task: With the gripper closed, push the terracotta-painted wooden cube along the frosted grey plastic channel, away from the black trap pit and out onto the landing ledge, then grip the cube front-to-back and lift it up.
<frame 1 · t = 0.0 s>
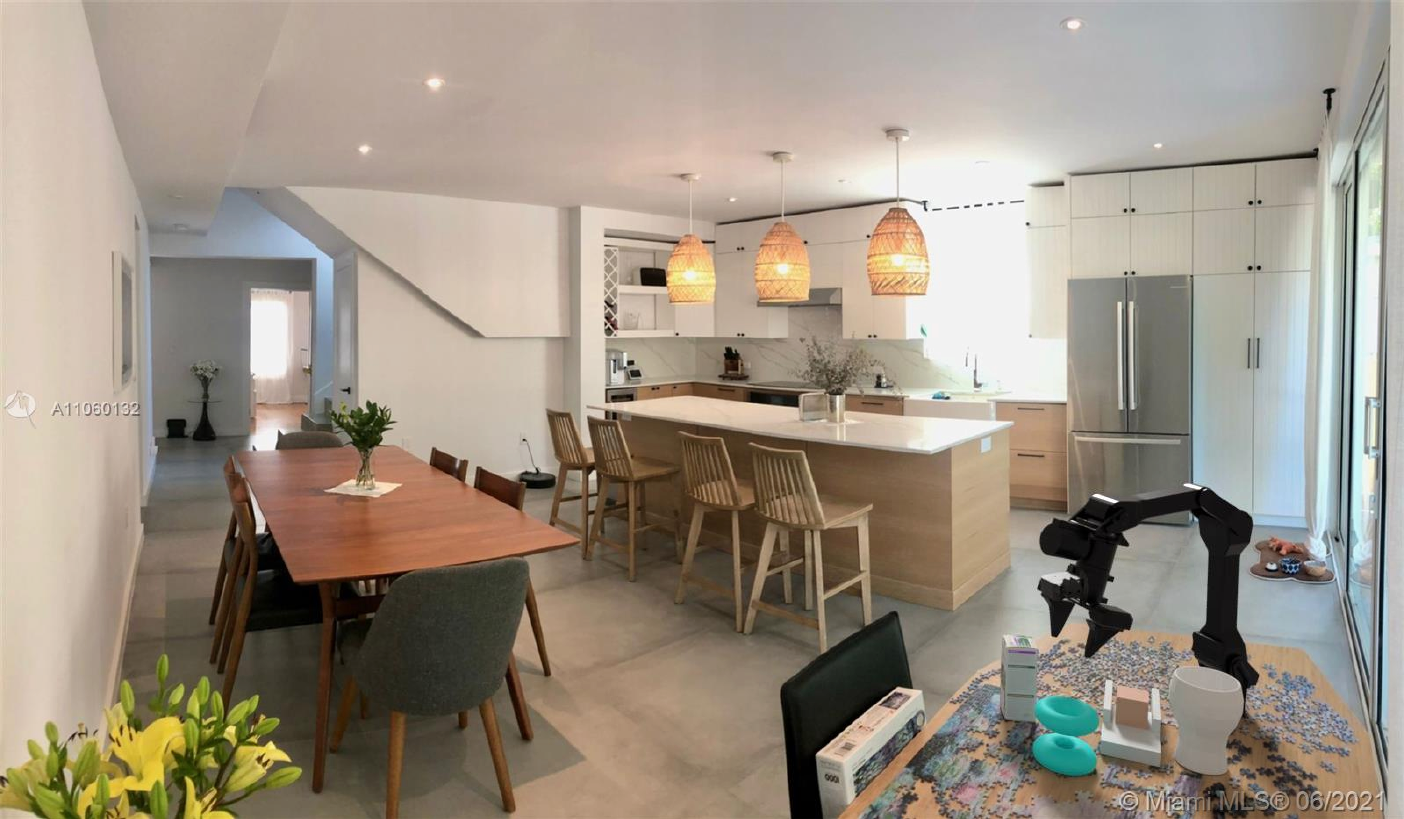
hand: (1070, 647, 147), 15 cm above the table, tool pointing down, fingers open, 9 cm apart
cup: (1200, 763, 137), on the table
terracotta cube: (1130, 720, 147), point 2 cm above the table, touching grey channel
syrup box: (1016, 715, 154), on the table
grey channel: (1130, 731, 147), on the table
donuts: (1063, 763, 138), on the table
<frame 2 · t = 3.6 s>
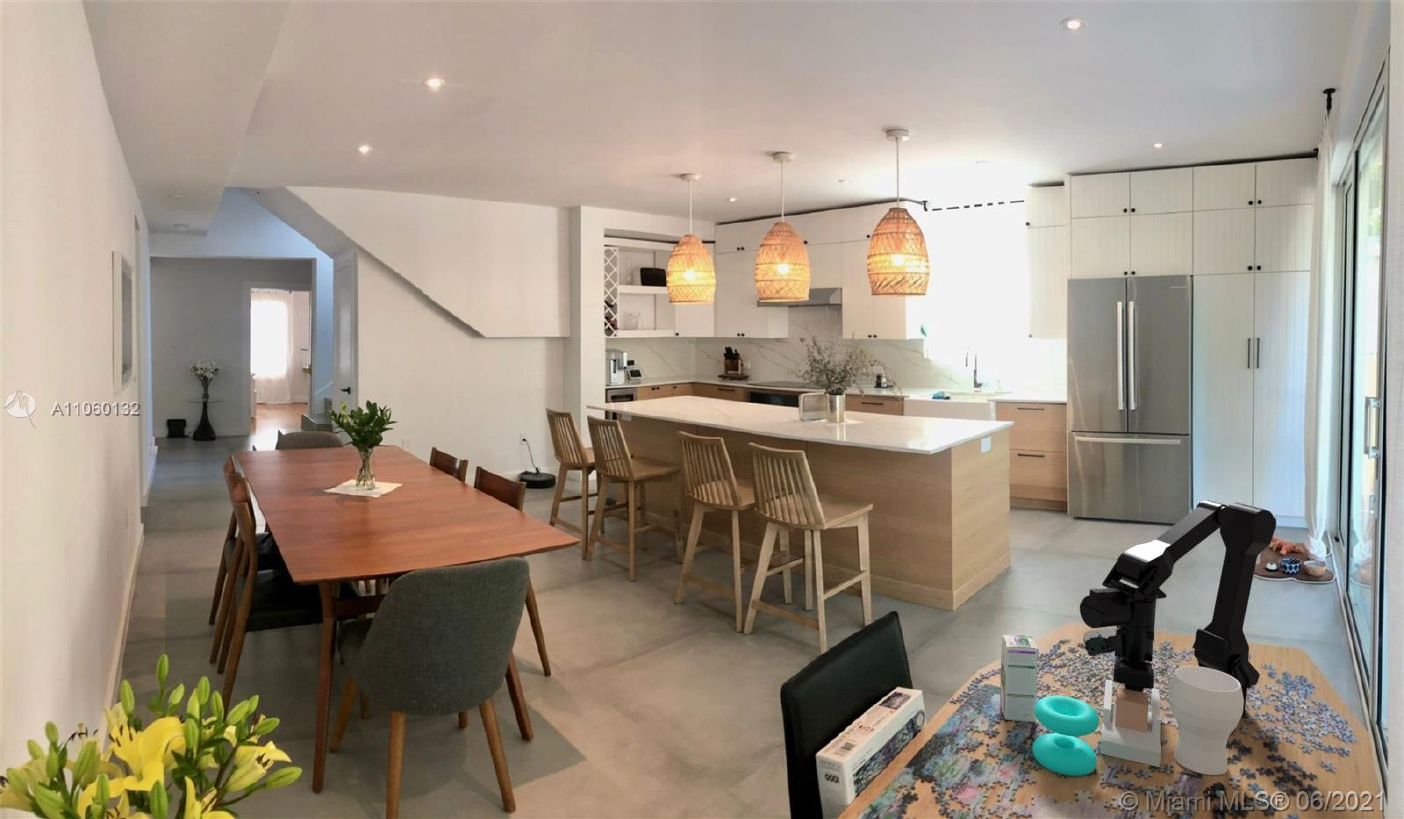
hand: (1130, 703, 150), 4 cm above the table, tool pointing down, fingers closed
terracotta cube: (1130, 722, 146), point 2 cm above the table, touching grey channel
everything else where it was.
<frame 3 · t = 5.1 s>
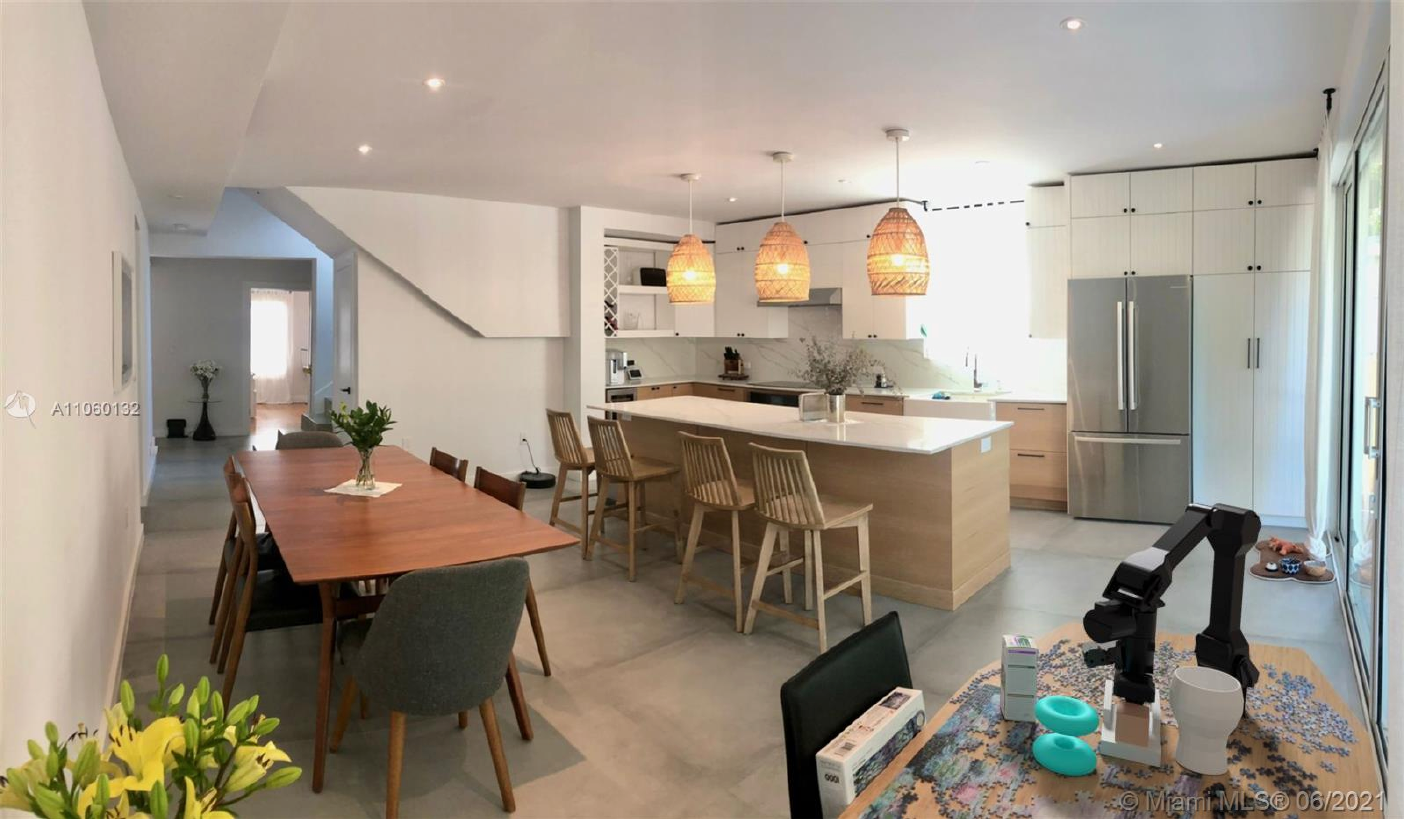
hand: (1131, 716, 145), 4 cm above the table, tool pointing down, fingers closed
terracotta cube: (1131, 737, 141), point 2 cm above the table, touching grey channel, gripper
everything else where it was.
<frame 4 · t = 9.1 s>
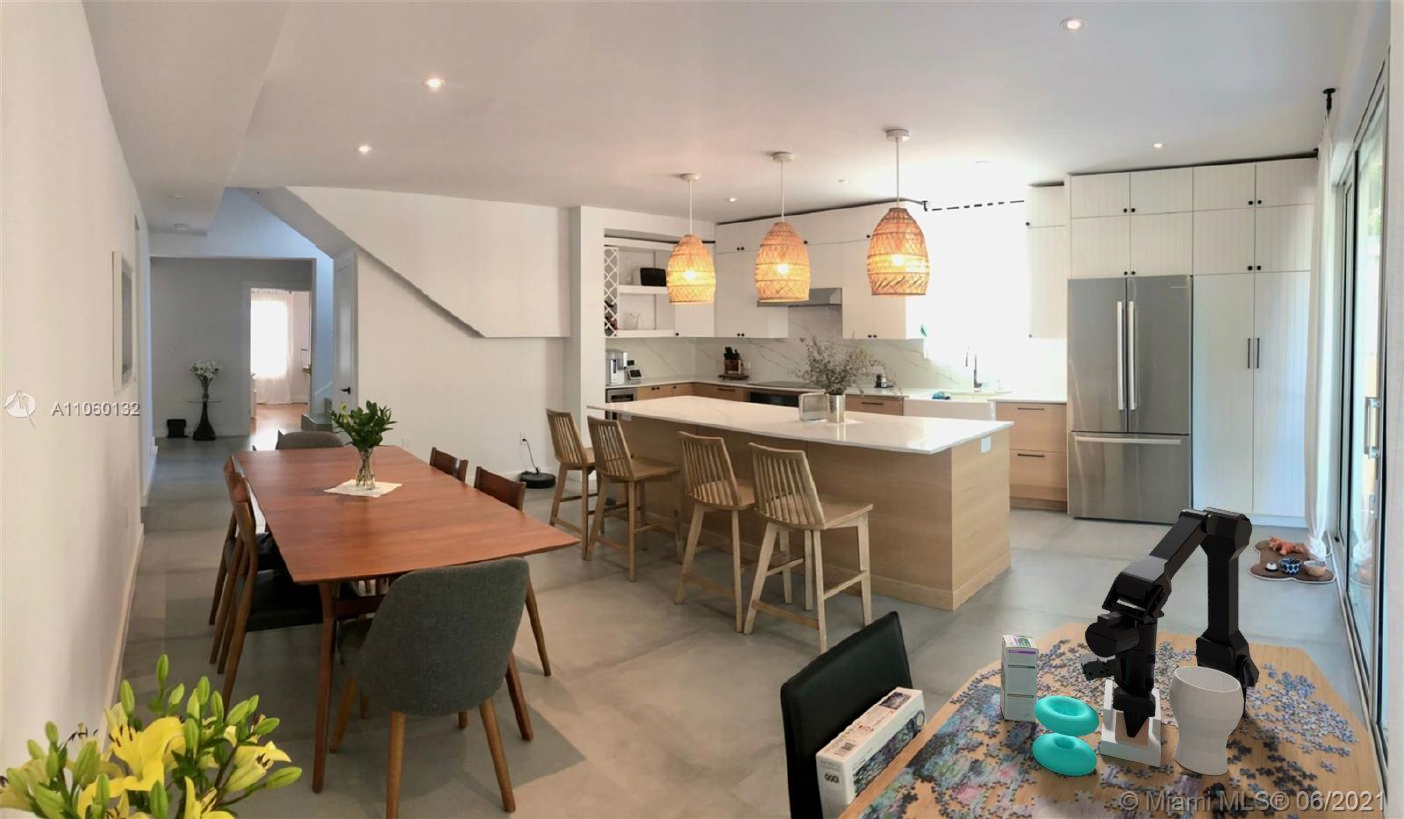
hand: (1131, 730, 141), 4 cm above the table, tool pointing down, fingers closed on terracotta cube, 5 cm apart
terracotta cube: (1131, 735, 141), point 3 cm above the table, touching grey channel, gripper
everything else where it was.
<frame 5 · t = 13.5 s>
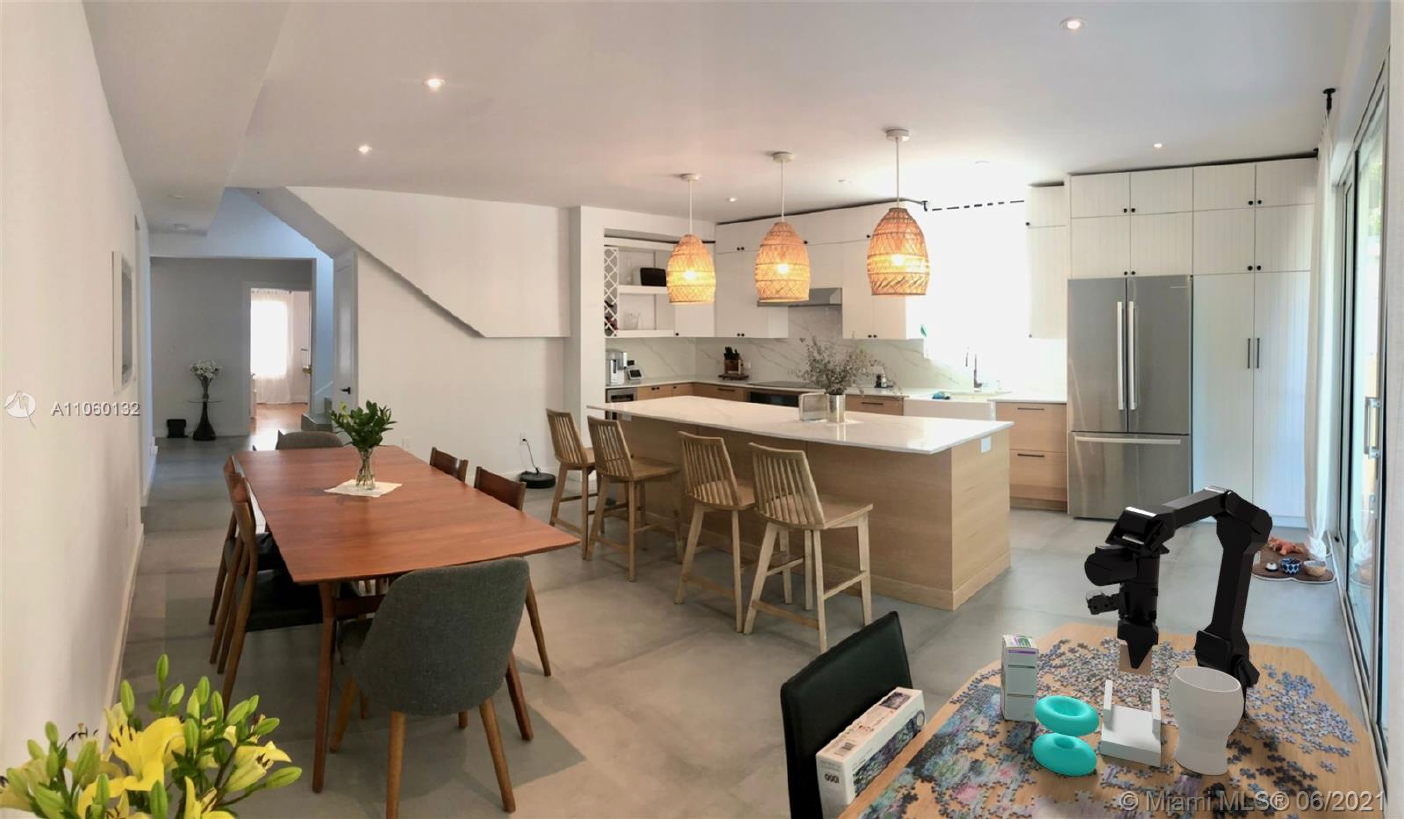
hand: (1134, 662, 146), 13 cm above the table, tool pointing down, fingers closed on terracotta cube, 5 cm apart
terracotta cube: (1134, 668, 146), point 12 cm above the table, touching gripper
everything else where it was.
at the end: the gripper is holding terracotta cube; terracotta cube point 12.0 cm above the table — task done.
